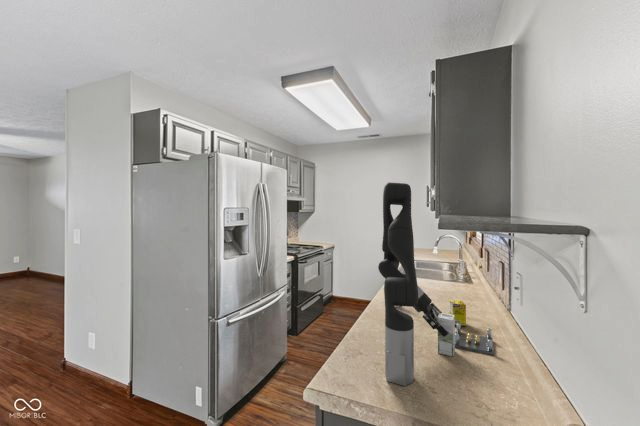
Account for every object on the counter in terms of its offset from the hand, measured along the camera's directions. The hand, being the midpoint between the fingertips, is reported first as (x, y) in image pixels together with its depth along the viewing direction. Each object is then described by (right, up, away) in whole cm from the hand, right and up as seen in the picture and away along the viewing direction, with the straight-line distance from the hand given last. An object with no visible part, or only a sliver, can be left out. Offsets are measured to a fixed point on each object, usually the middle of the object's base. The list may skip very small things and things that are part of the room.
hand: (447, 330), depth 110 cm
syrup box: (0, -9, 0) cm, 9 cm away
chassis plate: (+14, -8, +7) cm, 18 cm away
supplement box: (+17, -8, +27) cm, 33 cm away
